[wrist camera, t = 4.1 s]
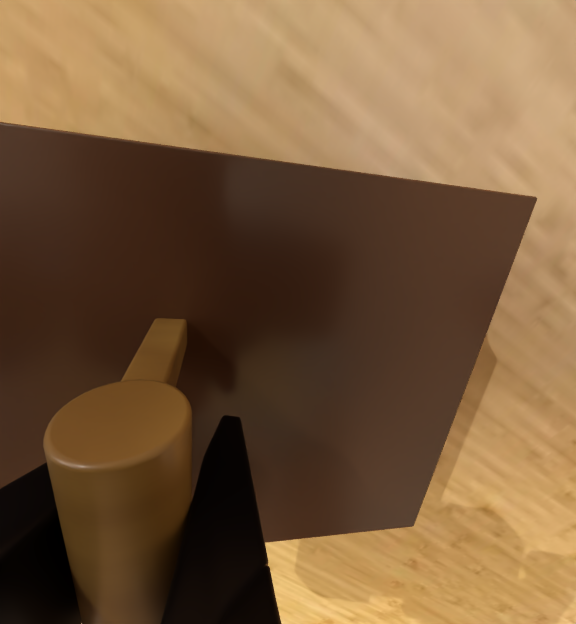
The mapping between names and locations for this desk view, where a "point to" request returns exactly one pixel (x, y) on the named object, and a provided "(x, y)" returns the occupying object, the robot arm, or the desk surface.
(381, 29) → the desk surface
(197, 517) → the robot arm
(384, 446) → the box door
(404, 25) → the desk surface
